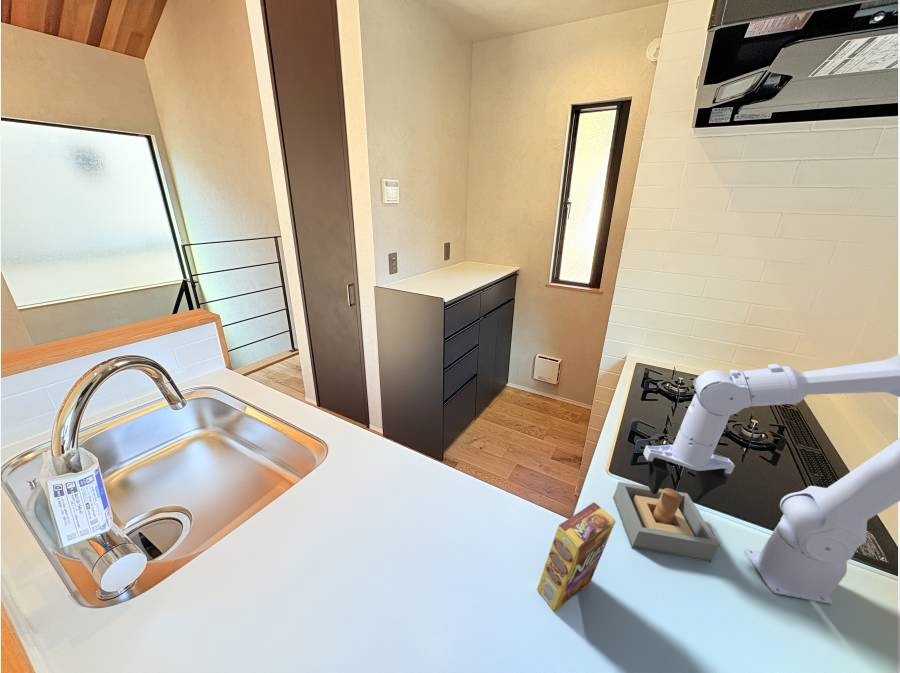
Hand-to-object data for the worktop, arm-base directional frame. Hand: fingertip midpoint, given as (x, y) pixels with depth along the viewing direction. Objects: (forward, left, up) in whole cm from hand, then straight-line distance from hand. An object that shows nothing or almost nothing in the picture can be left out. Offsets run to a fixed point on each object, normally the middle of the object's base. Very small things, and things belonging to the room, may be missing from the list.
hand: (672, 493), depth 67 cm
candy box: (+21, +16, -9) cm, 28 cm away
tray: (0, 0, -9) cm, 9 cm away
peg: (0, 0, -8) cm, 8 cm away
